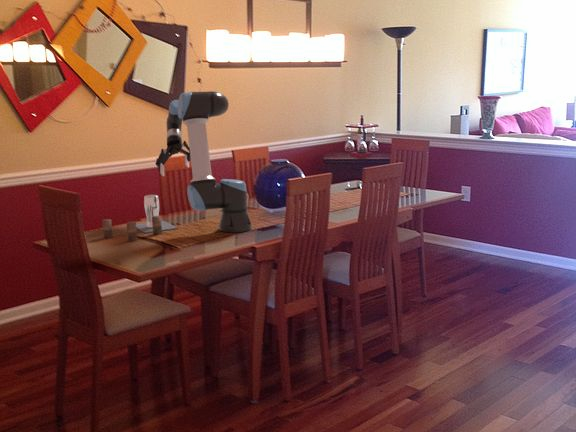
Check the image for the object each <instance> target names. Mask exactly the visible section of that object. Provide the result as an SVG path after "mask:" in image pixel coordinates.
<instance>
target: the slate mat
mask: <svg viewBox="0 0 576 432" xmlns="http://www.w3.org/2000/svg"><path fill="white" fill-rule="evenodd" d="M161 226H162V232H165V230H167V231H172V230H173V229H174V230H178V229H179V227H178V226H175V225H173V224H171V223H169V222H167V221H166V220H161ZM136 230H139V232H142V233H144V234H150V233H152V234H153V228H147V222H142V223H136Z"/></svg>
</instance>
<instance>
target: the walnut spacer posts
mask: <svg viewBox="0 0 576 432" xmlns="http://www.w3.org/2000/svg"><path fill="white" fill-rule="evenodd" d="M161 221H162V216H161V215H159V216H153V217H152V224H153V232H152V235H153V234H154V236H159V234H160V235H162V234H163V231H162V226H161ZM112 222H113V221H112V219H110V218H109V219H108V218H106V219H105V218H104V219H102V234H103V239H112V238H113V237H114V236H113V235H114V234H113V225H112V224H113V223H112ZM136 224H137V221H127V222H126V233H127V241H128V242H134V241H135V242H137V240H138V234H137V233H138V232H137V230H138V229H137V228H136Z"/></svg>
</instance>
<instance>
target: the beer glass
mask: <svg viewBox="0 0 576 432" xmlns="http://www.w3.org/2000/svg"><path fill="white" fill-rule="evenodd" d="M143 197H144V198H143V199H144V200H143V205H144V211H145V212H144V213H145V216H146V223H147V228H153V224H152V217H153V216H160V214H159V213H160V199H159V195H158V194H147V195H144V196H143Z"/></svg>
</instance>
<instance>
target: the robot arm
mask: <svg viewBox="0 0 576 432" xmlns="http://www.w3.org/2000/svg"><path fill="white" fill-rule="evenodd" d="M229 104H230V103H229V100H228V98H227V96H226V95H224V94H222V93H221V92H218V91H213V90H211V91H210V90H209V91H187V92H181V93H180V94H179V97H178V99H173V100H171V101H170V103H169V107H168V114H167V118H166V123H165V124H166V148H165V149H164V148H161V149H160V153H159V155H158V158H157V159H156V161H155V166H156V167H157V168H158V170H159V171H160V174H161V176H162V177H165V164H166V163H167V161H168V160H169V159H170V158H171V157H172V156H173V155H176V154H179V153H181V154H183V155H184V163H185V164H184V165H185V167H186V168H190V164H191V171H192V173H191V174H192V179H191V180H190V183H189V185H187V188H186V192H187V199H188V202H189V205H190V206H191V208H192V209H193V211H208V210H209V211H210V210H218V209H221V217H220V220H219V223H218V231H220V232H224V233H240V232H243V233H244V232H247V231H251V230H252V227H253V226H252V222H251V219H250V216H249V212H248V201H247V195H246V193H248V191H247V190H248V189H247V185H246V183H245V181H243V180H240V179H232V178H231V179H229V178H223V179H220V182H218V183H217V181H216V178H215V177H213V173H212V167H211V166H212V165H211V159H210V158H211V157H210V150H209V141H208V132H207V125H206V124H208V122H209V119H210V118H212V117H219V116H222V115H224V114H225V113H226V112H227V111H228V109H229ZM183 124H184V125H185V127H186V129H187V130H186V131H187V139H188V142H187V141H186V140H183V139H182V138H183V137H182V125H183ZM183 147H184V148H186V149H187V150H185V149H183Z"/></svg>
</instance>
